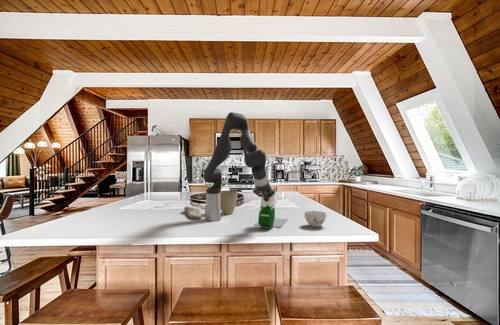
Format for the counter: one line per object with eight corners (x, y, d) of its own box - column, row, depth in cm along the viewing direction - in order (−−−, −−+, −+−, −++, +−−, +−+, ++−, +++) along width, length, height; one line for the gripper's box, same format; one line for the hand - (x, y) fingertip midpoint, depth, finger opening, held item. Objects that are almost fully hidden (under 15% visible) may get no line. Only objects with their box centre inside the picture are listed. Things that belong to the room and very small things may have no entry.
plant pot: (214, 215, 185) (215, 192, 185) (220, 211, 200) (220, 190, 200) (235, 215, 183) (235, 193, 183) (239, 211, 198) (239, 190, 198)
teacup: (328, 229, 147) (328, 214, 147) (305, 228, 148) (305, 214, 148) (323, 222, 162) (323, 209, 162) (302, 222, 163) (302, 209, 163)
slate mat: (254, 225, 155) (254, 225, 155) (263, 218, 176) (263, 217, 176) (281, 227, 150) (281, 227, 150) (287, 219, 171) (287, 219, 171)
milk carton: (256, 222, 145) (261, 189, 155) (259, 227, 152) (264, 195, 162) (271, 223, 142) (276, 190, 152) (274, 228, 150) (278, 196, 159)
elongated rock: (189, 223, 168) (204, 222, 172) (189, 214, 168) (205, 214, 172) (182, 210, 201) (195, 210, 204) (182, 203, 201) (195, 203, 204)
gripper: (274, 175, 139) (279, 195, 151) (250, 175, 143) (256, 194, 155) (272, 186, 134) (277, 206, 146) (247, 185, 138) (254, 205, 150)
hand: (266, 200), depth 150 cm, fingers closed
